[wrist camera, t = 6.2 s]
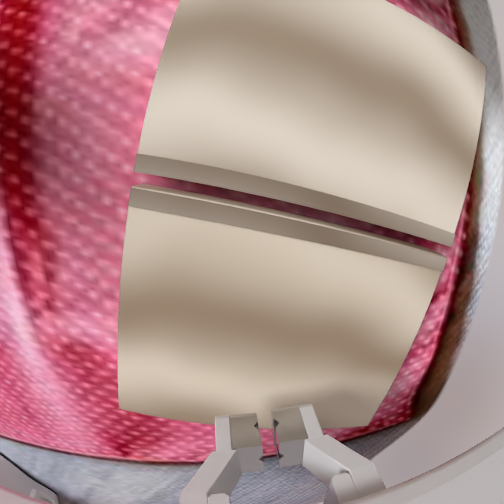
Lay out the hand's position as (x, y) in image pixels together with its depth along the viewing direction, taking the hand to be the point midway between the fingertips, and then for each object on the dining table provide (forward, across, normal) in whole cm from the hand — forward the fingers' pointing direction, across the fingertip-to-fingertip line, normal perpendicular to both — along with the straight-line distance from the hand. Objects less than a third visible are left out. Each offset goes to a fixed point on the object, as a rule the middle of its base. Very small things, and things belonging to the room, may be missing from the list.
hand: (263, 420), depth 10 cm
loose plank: (+4, -1, -2) cm, 4 cm away
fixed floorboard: (+4, -4, -11) cm, 13 cm away
